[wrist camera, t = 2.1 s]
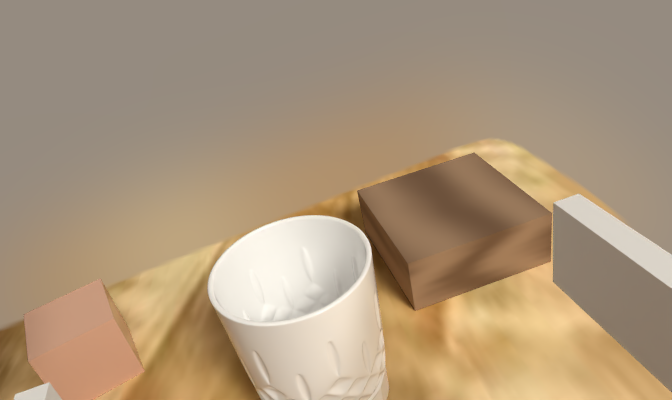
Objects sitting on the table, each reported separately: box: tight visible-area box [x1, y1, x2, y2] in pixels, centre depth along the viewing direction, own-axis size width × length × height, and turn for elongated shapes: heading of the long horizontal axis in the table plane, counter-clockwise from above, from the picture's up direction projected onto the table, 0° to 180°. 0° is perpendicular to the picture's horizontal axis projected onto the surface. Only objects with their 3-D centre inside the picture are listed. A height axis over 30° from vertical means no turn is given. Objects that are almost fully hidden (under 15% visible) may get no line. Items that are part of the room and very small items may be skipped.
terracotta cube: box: [24, 279, 144, 400], centre depth 34 cm, size 5×5×5 cm
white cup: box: [208, 215, 389, 400], centre depth 27 cm, size 8×8×10 cm
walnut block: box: [357, 153, 552, 311], centre depth 38 cm, size 10×10×4 cm
